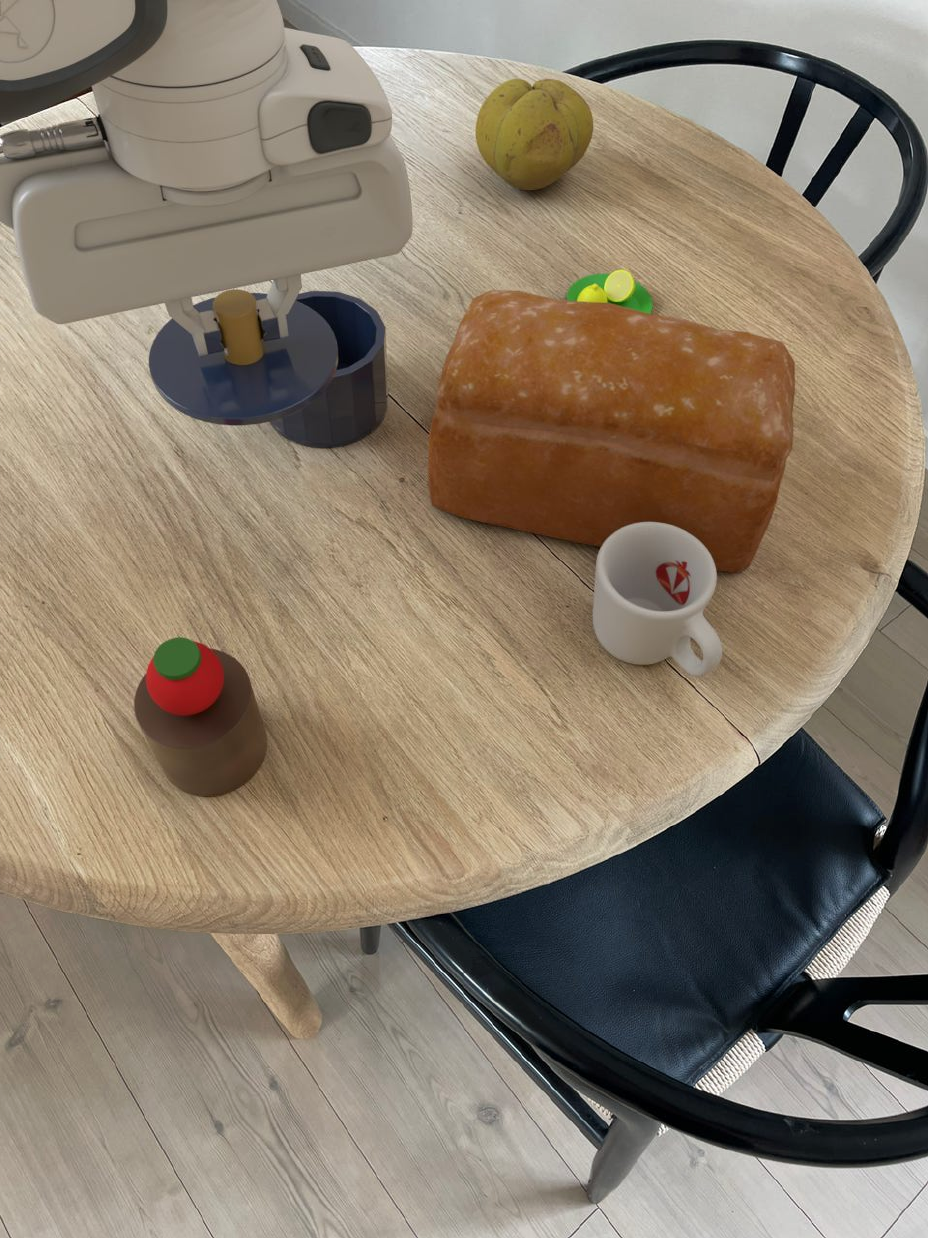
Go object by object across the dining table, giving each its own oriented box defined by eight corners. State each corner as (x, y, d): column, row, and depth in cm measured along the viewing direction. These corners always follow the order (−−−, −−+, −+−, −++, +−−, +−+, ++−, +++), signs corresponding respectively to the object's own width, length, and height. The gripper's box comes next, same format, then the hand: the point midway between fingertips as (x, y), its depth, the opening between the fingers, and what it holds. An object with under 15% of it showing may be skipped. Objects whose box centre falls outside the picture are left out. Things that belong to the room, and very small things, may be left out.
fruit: (577, 219, 99) (590, 123, 90) (463, 203, 100) (466, 105, 91) (591, 159, 105) (605, 63, 96) (483, 144, 106) (488, 48, 97)
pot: (284, 461, 79) (271, 391, 73) (251, 377, 84) (237, 306, 78) (405, 429, 81) (403, 360, 75) (366, 350, 87) (361, 279, 81)
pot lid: (175, 453, 54) (156, 389, 50) (136, 330, 60) (116, 264, 56) (363, 407, 57) (359, 343, 53) (309, 292, 62) (301, 227, 59)
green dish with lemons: (604, 268, 94) (608, 242, 92) (668, 307, 91) (674, 282, 89) (548, 304, 91) (551, 278, 89) (613, 346, 88) (618, 321, 86)
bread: (458, 399, 84) (464, 238, 71) (764, 458, 81) (828, 302, 68) (416, 519, 76) (413, 364, 63) (751, 589, 73) (821, 442, 60)
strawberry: (164, 738, 57) (145, 700, 53) (149, 677, 59) (129, 637, 56) (237, 715, 58) (224, 676, 54) (220, 656, 60) (206, 615, 57)
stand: (172, 811, 62) (146, 764, 56) (150, 720, 66) (123, 667, 60) (279, 776, 64) (264, 726, 58) (252, 689, 67) (235, 633, 61)
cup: (740, 674, 69) (773, 610, 62) (655, 729, 66) (680, 669, 60) (642, 571, 74) (663, 502, 67) (559, 619, 71) (572, 552, 65)
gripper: (-31, 179, 41) (67, 418, 53) (423, 101, 46) (423, 336, 57) (-47, 103, 44) (49, 344, 56) (380, 38, 49) (387, 272, 61)
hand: (242, 339), depth 57 cm, fingers closed on pot lid, 2 cm apart
